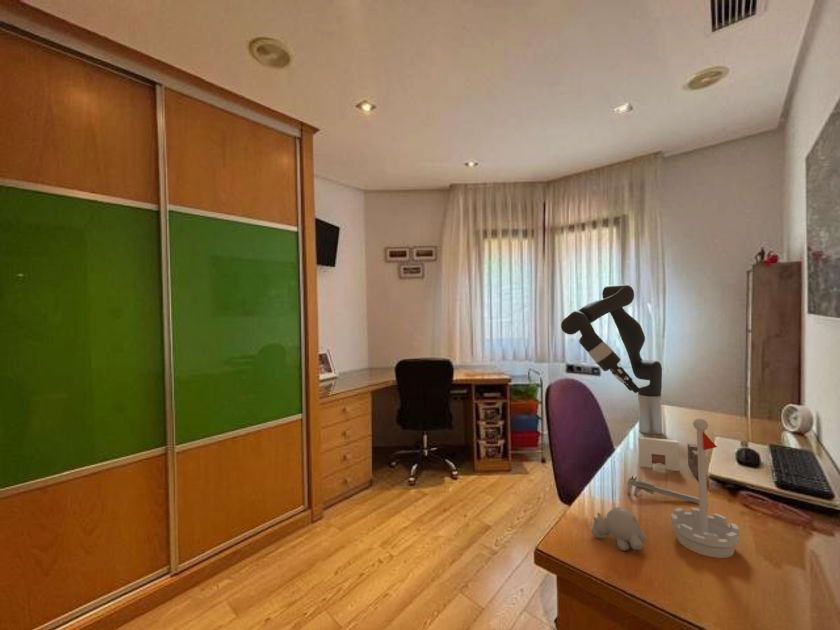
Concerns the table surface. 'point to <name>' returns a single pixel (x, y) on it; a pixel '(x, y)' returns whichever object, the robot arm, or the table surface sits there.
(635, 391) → the robot arm
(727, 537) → the flag stand
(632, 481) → the caliper
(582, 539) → the table surface
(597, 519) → the chubby cartoon animal
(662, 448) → the white notched plate
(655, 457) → the wooden tablet
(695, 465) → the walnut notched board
